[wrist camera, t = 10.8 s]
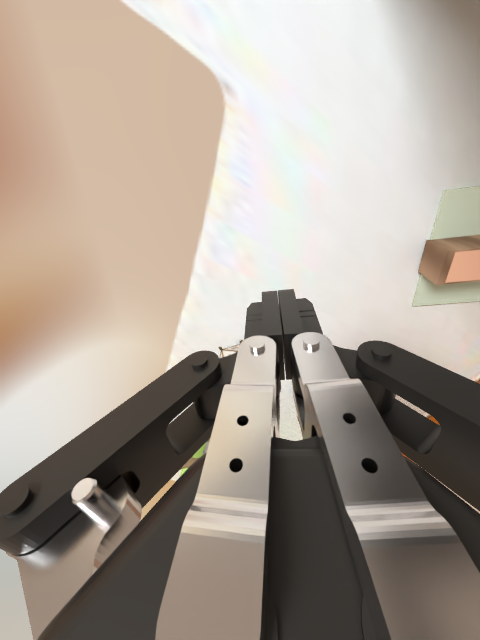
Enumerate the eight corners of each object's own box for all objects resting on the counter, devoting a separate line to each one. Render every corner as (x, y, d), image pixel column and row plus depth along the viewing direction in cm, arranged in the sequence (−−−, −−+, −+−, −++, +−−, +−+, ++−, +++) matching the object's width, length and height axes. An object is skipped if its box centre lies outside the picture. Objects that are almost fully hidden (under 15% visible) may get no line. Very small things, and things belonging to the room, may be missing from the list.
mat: (443, 190, 34) (445, 191, 33) (563, 174, 32) (566, 175, 31) (411, 305, 43) (413, 306, 43) (502, 298, 41) (504, 299, 41)
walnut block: (448, 250, 33) (553, 240, 31) (426, 240, 37) (518, 230, 35) (436, 285, 35) (532, 276, 34) (418, 271, 40) (502, 263, 38)
